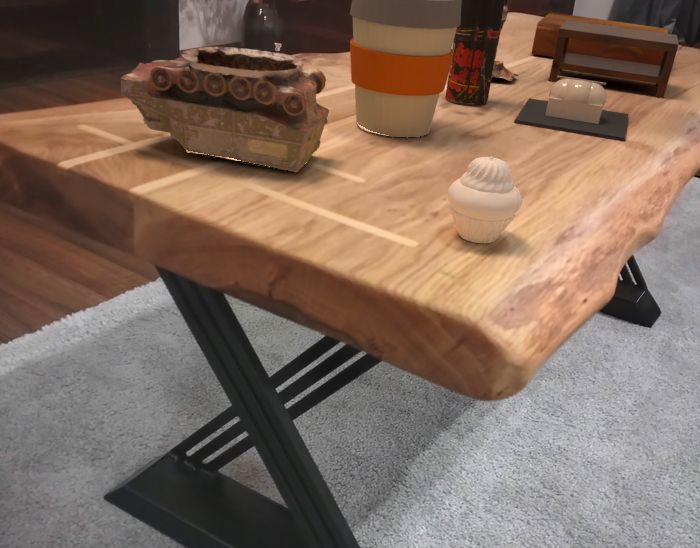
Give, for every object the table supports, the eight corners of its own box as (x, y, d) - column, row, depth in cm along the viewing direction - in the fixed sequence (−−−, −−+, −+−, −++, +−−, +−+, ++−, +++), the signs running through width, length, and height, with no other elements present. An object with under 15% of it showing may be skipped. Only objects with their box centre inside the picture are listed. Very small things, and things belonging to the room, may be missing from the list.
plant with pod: (460, 67, 130) (480, -68, 119) (524, 79, 125) (551, -60, 115) (440, 74, 123) (459, -68, 113) (507, 87, 119) (533, -60, 109)
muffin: (432, 239, 65) (444, 157, 61) (453, 217, 70) (466, 140, 66) (504, 257, 63) (521, 173, 59) (521, 232, 68) (537, 154, 64)
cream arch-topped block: (601, 117, 105) (611, 80, 103) (600, 124, 102) (609, 86, 99) (547, 108, 107) (555, 72, 105) (543, 115, 104) (551, 78, 101)
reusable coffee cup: (465, 133, 94) (486, -1, 87) (397, 148, 86) (414, 2, 79) (389, 108, 101) (402, -17, 94) (319, 121, 93) (328, -15, 86)
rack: (662, 85, 131) (677, 34, 127) (663, 98, 122) (678, 44, 118) (555, 69, 135) (566, 20, 131) (548, 80, 126) (559, 28, 122)
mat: (627, 116, 109) (628, 113, 109) (624, 141, 97) (625, 137, 97) (528, 100, 112) (529, 98, 112) (514, 122, 101) (514, 119, 100)
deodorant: (438, 95, 111) (454, -21, 103) (475, 95, 112) (494, -18, 105) (456, 105, 106) (474, -15, 98) (494, 106, 108) (515, -12, 100)
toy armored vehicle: (282, 196, 71) (287, 86, 66) (96, 156, 76) (86, 52, 71) (334, 158, 81) (341, 62, 76) (168, 126, 86) (164, 33, 81)
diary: (530, 55, 144) (537, 22, 141) (544, 42, 160) (550, 12, 157) (658, 74, 139) (668, 40, 136) (659, 58, 154) (668, 27, 151)
